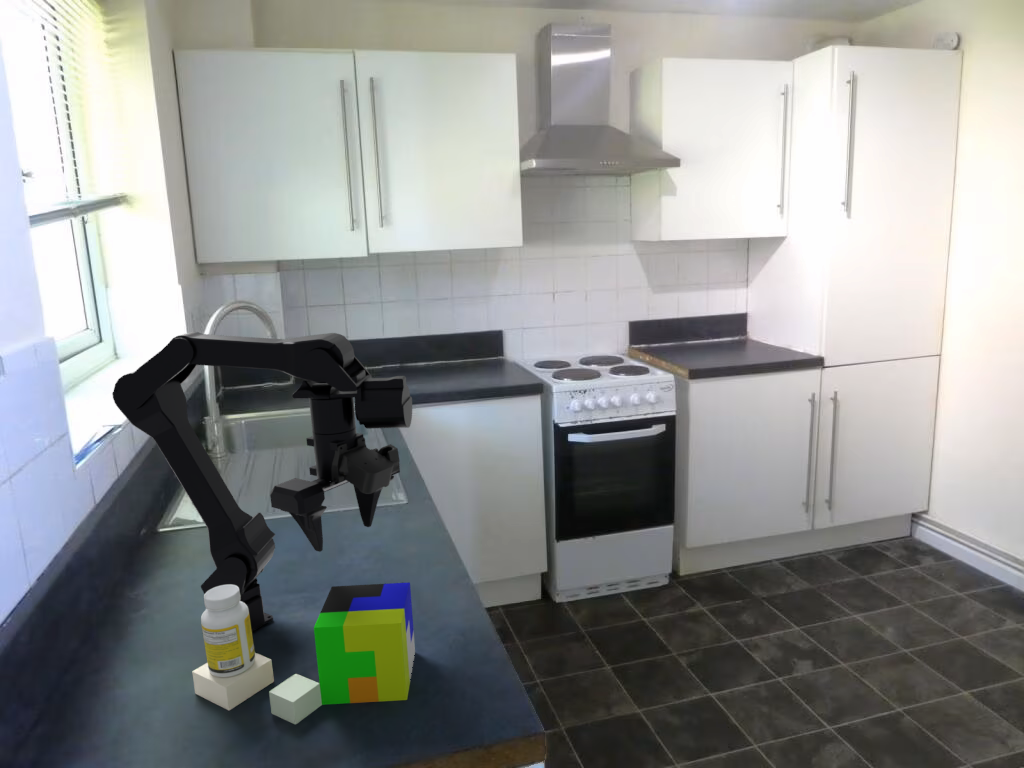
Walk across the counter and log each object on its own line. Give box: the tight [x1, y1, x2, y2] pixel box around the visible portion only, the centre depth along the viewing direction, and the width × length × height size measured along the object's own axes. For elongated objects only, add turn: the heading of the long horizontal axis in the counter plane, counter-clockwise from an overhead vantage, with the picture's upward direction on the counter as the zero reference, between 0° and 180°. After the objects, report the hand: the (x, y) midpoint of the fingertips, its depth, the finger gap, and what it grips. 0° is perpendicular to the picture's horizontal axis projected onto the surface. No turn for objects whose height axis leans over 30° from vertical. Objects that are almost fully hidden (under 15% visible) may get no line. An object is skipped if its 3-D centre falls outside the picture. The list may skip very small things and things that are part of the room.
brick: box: [268, 673, 323, 725], centre depth 85 cm, size 4×4×3 cm
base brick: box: [191, 652, 275, 711], centre depth 89 cm, size 6×6×3 cm
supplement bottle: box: [200, 584, 256, 677], centre depth 88 cm, size 5×5×10 cm
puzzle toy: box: [313, 581, 416, 706], centre depth 90 cm, size 10×10×10 cm
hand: (344, 538), depth 101 cm, fingers open, 9 cm apart
